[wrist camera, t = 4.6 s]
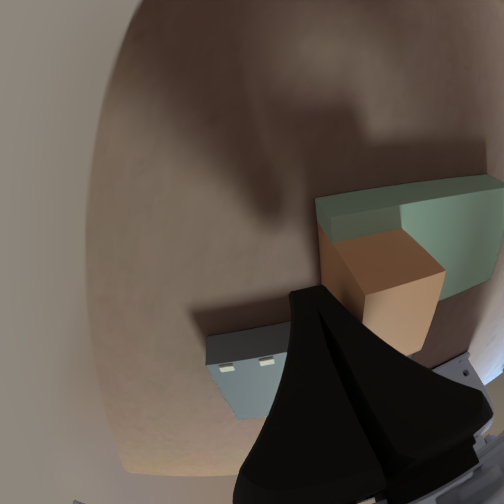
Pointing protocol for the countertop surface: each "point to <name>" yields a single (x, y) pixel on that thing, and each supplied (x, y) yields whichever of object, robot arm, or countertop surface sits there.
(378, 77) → the countertop surface
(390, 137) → the countertop surface
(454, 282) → the pale green flat slab
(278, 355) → the white-dotted slate slab
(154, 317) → the countertop surface
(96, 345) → the countertop surface
